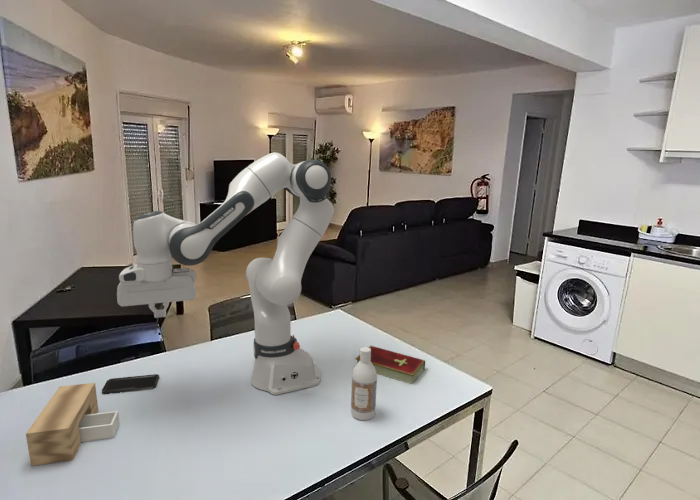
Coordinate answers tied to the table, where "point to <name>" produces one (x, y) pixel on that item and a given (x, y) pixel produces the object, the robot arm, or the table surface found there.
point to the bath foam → (364, 387)
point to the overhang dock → (61, 424)
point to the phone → (130, 384)
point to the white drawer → (98, 426)
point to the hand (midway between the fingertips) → (160, 316)
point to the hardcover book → (395, 364)
